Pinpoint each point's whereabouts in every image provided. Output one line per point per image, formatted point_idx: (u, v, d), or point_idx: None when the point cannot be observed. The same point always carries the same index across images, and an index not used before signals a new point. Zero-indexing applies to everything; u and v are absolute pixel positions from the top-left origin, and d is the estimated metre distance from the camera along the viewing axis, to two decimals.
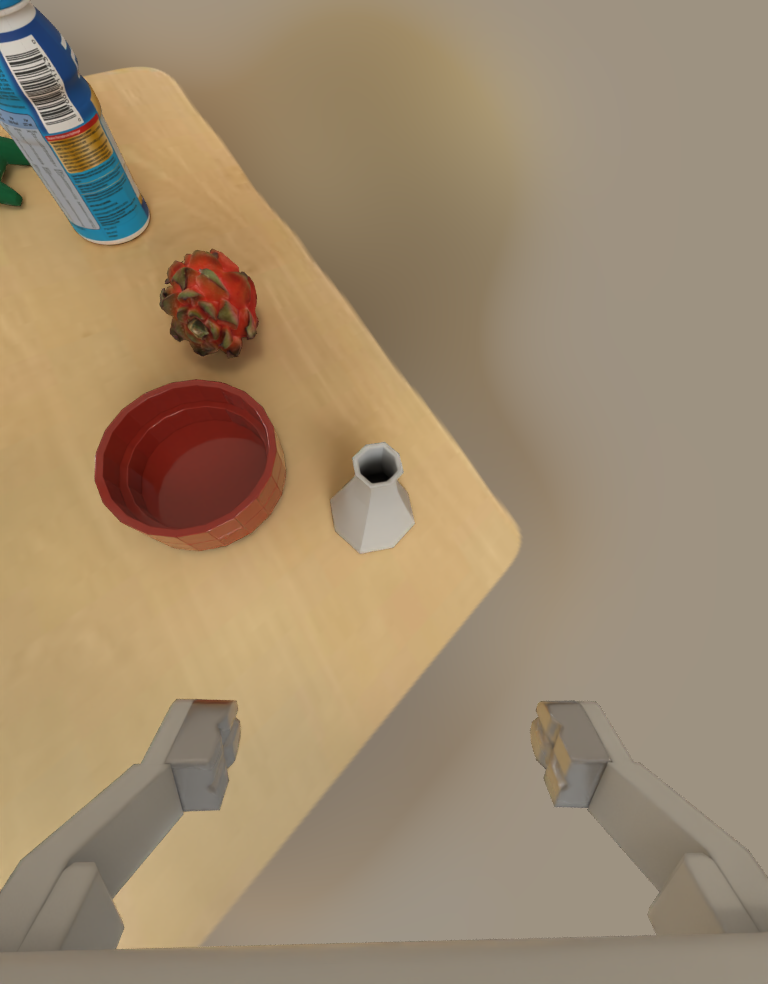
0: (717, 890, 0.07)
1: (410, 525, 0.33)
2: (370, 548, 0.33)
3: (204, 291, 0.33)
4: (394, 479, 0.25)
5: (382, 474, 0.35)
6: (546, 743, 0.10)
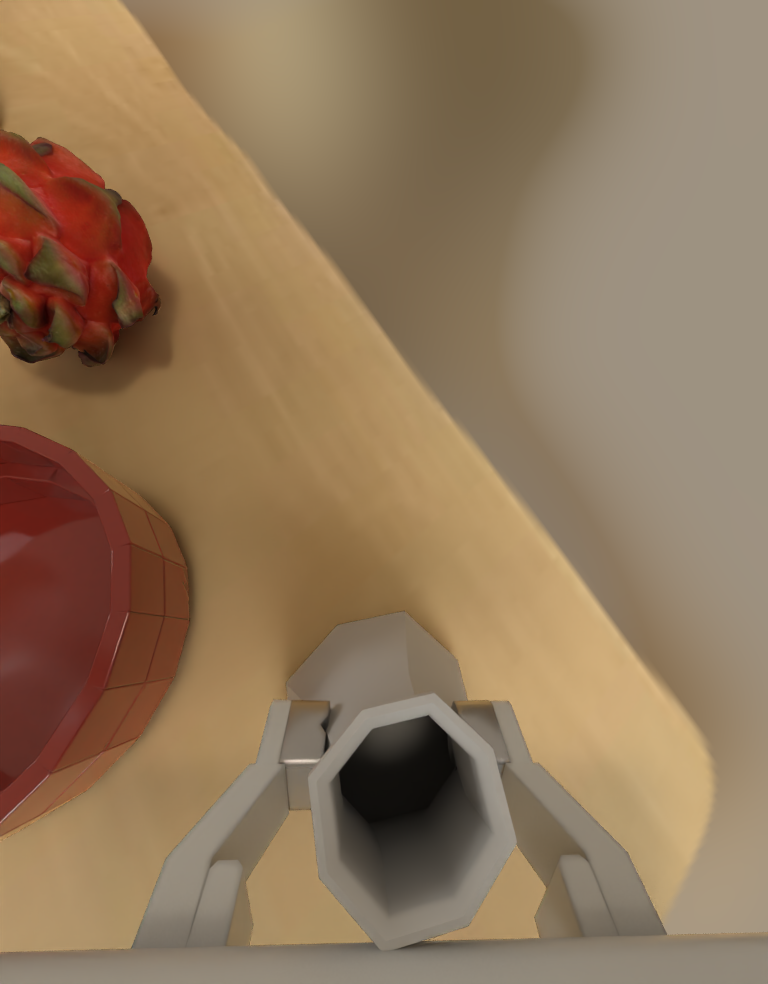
0: (586, 893, 0.07)
1: None
2: (377, 821, 0.14)
3: None
4: (483, 890, 0.06)
5: None
6: None
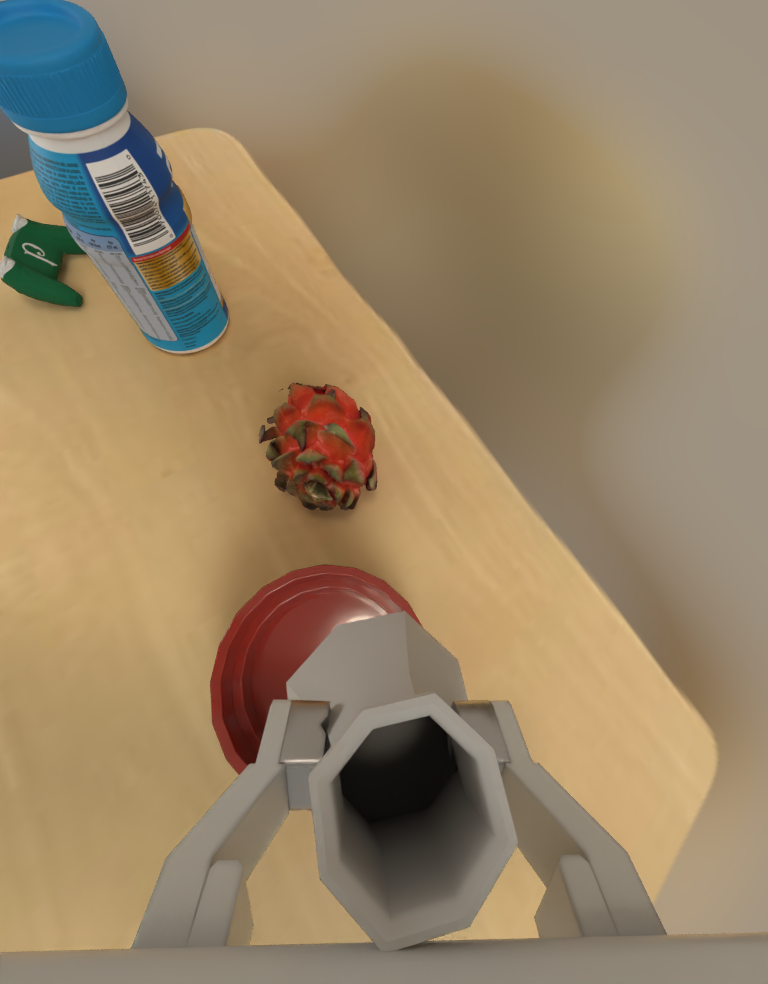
0: (585, 893, 0.07)
1: None
2: (377, 821, 0.14)
3: (328, 449, 0.27)
4: (484, 891, 0.06)
5: None
6: None
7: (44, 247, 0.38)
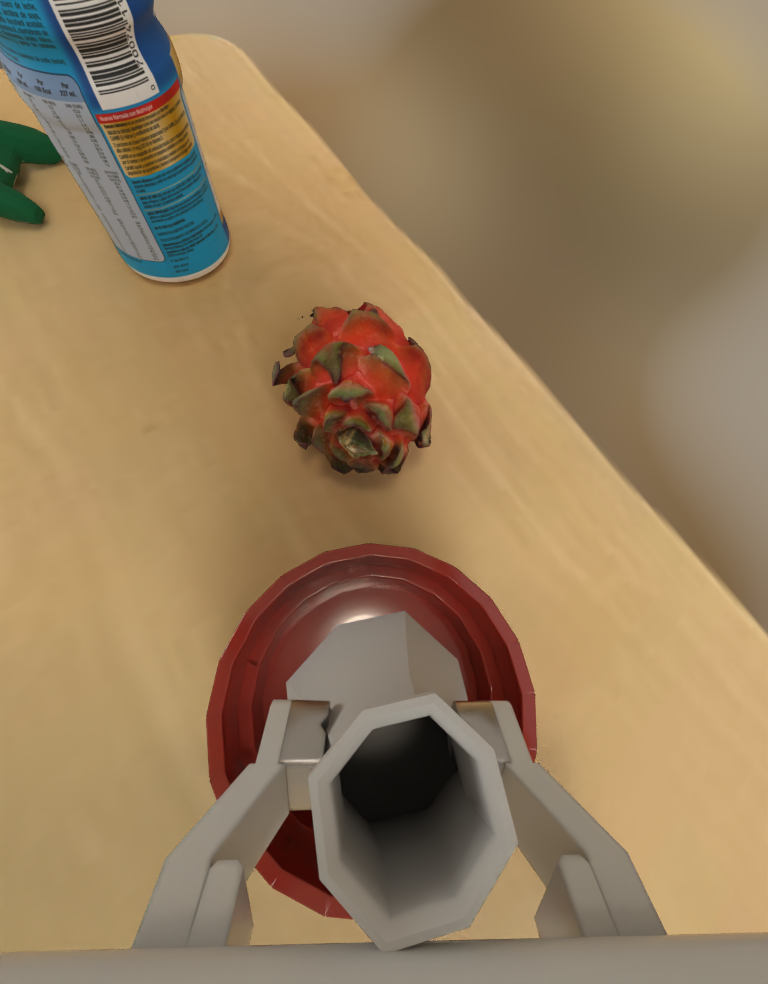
0: (585, 893, 0.07)
1: None
2: (377, 822, 0.14)
3: (373, 383, 0.19)
4: (484, 891, 0.06)
5: None
6: None
7: None
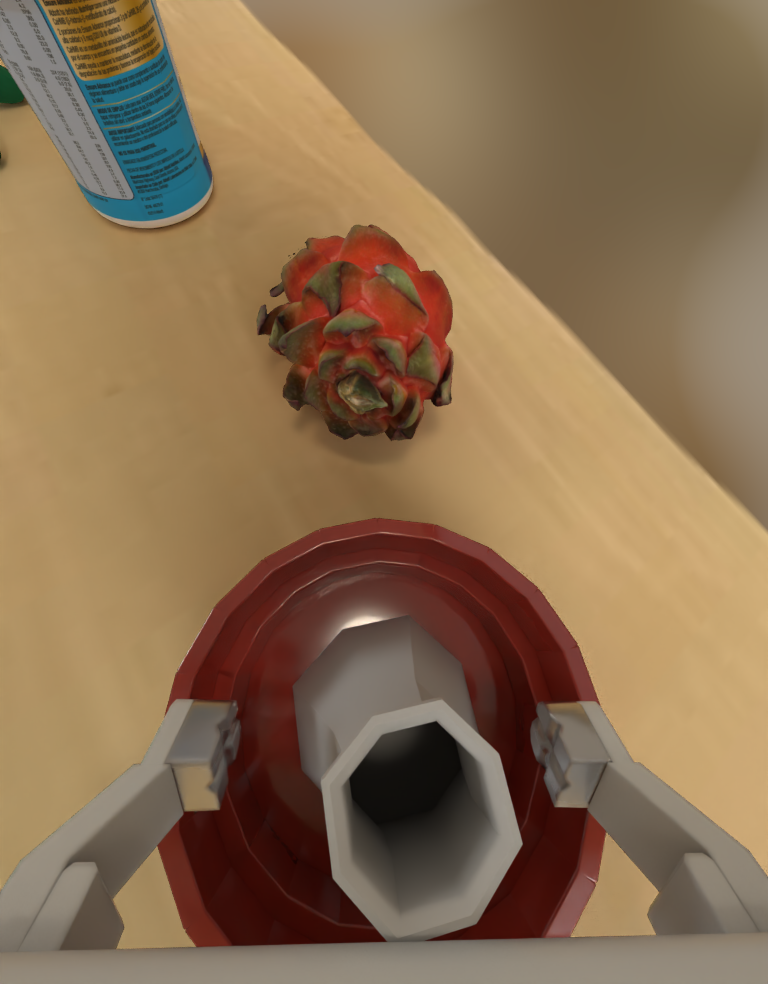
0: (717, 890, 0.07)
1: None
2: (383, 823, 0.14)
3: (381, 314, 0.15)
4: (490, 890, 0.06)
5: None
6: (546, 743, 0.10)
7: None
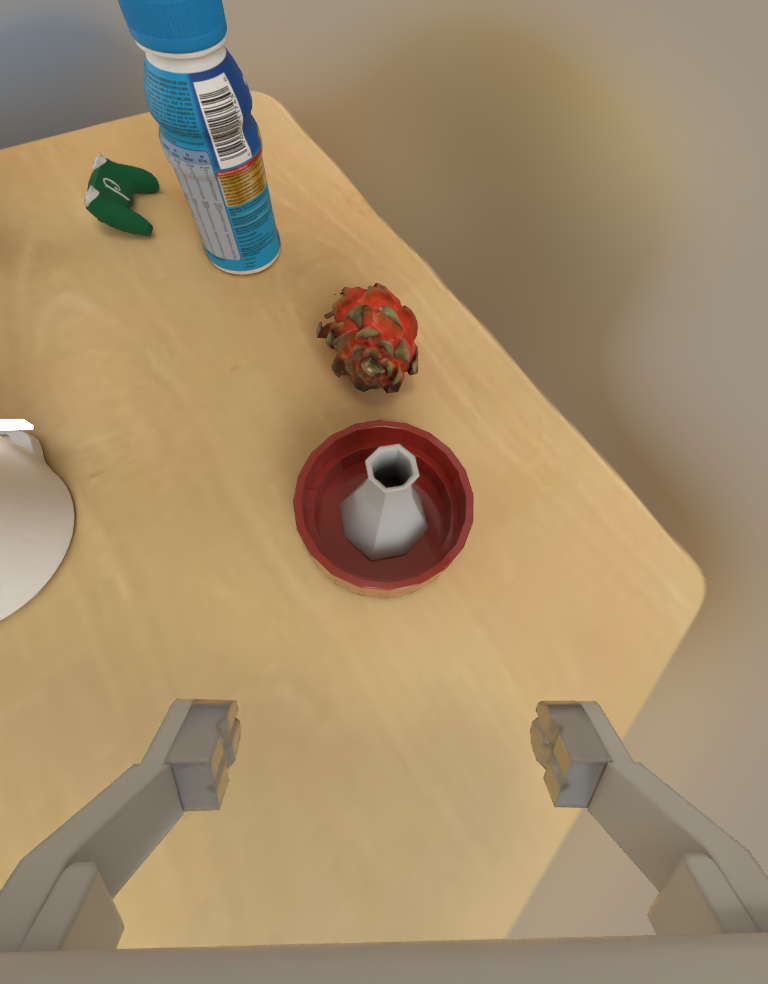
0: (717, 890, 0.07)
1: (423, 531, 0.32)
2: (382, 555, 0.31)
3: (382, 329, 0.32)
4: (410, 483, 0.23)
5: (393, 478, 0.34)
6: (545, 743, 0.10)
7: (119, 183, 0.44)
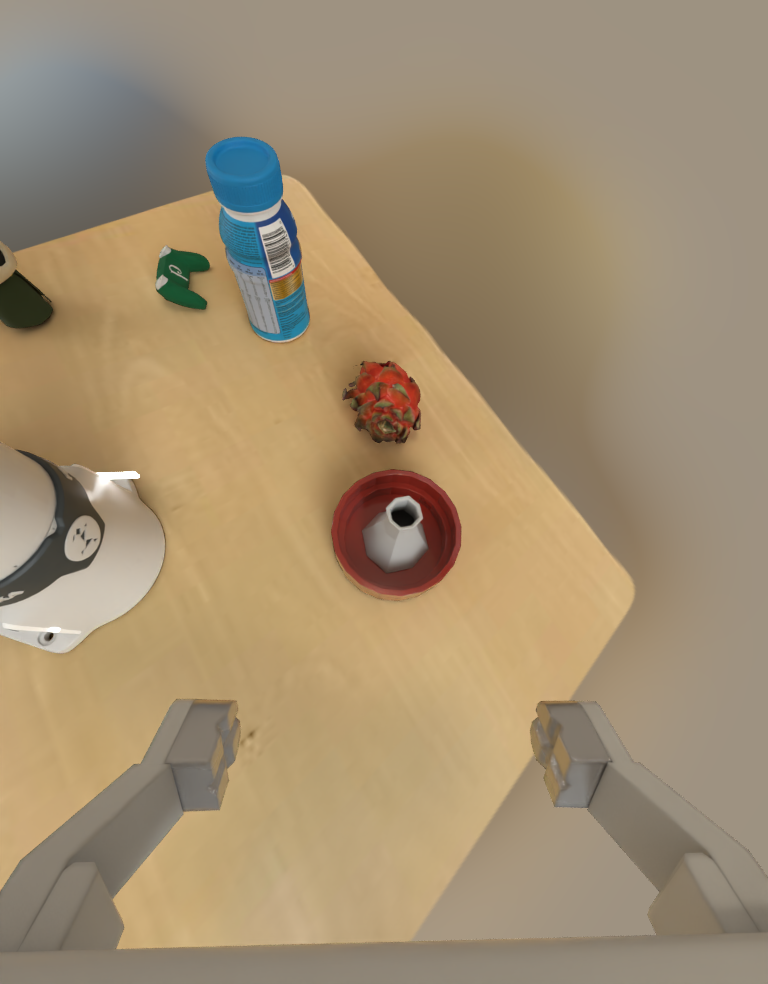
0: (717, 890, 0.07)
1: (425, 551, 0.43)
2: (394, 569, 0.42)
3: (394, 400, 0.43)
4: (416, 524, 0.34)
5: (402, 510, 0.45)
6: (546, 743, 0.10)
7: (180, 267, 0.54)
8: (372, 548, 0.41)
